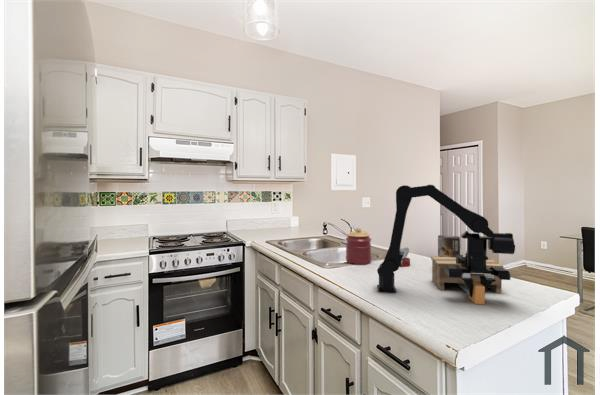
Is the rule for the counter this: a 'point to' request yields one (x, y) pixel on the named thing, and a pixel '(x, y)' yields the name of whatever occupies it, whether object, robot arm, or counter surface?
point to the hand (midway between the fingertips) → (475, 297)
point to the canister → (358, 247)
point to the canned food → (405, 258)
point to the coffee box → (448, 246)
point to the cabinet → (441, 262)
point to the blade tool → (475, 292)
